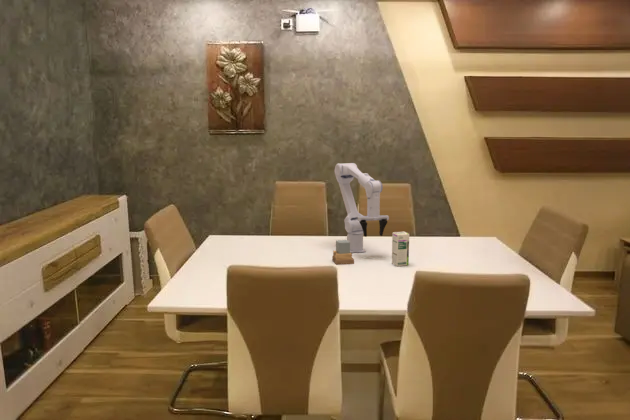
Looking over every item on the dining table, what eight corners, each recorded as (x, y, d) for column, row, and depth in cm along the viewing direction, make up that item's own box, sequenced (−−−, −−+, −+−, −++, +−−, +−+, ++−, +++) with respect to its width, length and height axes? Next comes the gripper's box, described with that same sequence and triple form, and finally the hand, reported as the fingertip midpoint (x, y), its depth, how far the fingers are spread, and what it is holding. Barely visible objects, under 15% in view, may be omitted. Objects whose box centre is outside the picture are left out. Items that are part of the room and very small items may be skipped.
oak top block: (333, 256, 248) (333, 250, 248) (348, 255, 249) (348, 250, 249) (336, 259, 241) (336, 254, 241) (351, 259, 242) (351, 253, 242)
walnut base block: (332, 261, 249) (332, 255, 248) (349, 260, 250) (349, 255, 250) (336, 265, 241) (336, 260, 240) (354, 264, 243) (354, 259, 242)
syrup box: (396, 266, 239) (397, 234, 236) (391, 263, 244) (392, 231, 242) (408, 265, 240) (409, 233, 238) (403, 262, 246) (404, 230, 243)
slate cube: (335, 251, 246) (336, 240, 246) (346, 250, 248) (346, 239, 247) (339, 253, 242) (339, 243, 241) (349, 253, 243) (350, 242, 242)
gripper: (360, 208, 244) (360, 238, 246) (391, 207, 247) (390, 236, 249) (356, 206, 251) (356, 235, 253) (386, 205, 254) (385, 233, 256)
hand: (373, 235), depth 252 cm, fingers open, 7 cm apart
